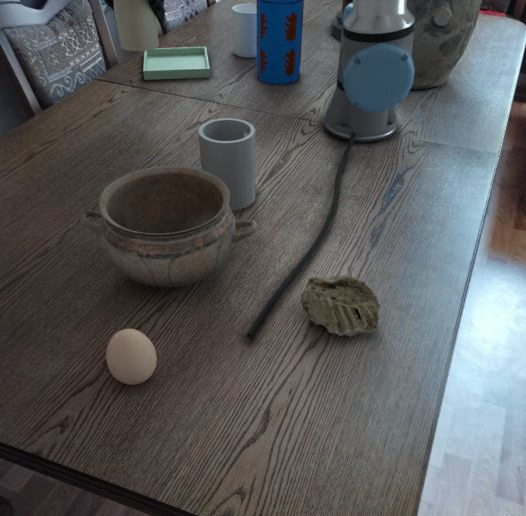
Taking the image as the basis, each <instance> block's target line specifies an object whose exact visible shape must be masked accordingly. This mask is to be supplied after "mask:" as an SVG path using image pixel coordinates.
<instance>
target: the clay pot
mask: <svg viewBox="0 0 526 516" xmlns="http://www.w3.org/2000/svg"><path fill="white" fill-rule="evenodd" d="M482 3H483V0H407V4H406V6H407V9H408V10H409V11H410V12H411V13H412V14H413V15H414V17H415V23H414V34H413V46H412V60H413V62H414V68H415V73H414V79H413V84H412V87H411V89H410V90H424V89H425V90H426V89H431V88H437V87H439V86H442V85H444V84H445V83H446V82H447V80H448V78H449V76H450V74H451V73H452V71H453V70H454V68H455V67H456V66H457V64H458V63H459V61H460V60H461V58H462V57H463V55H464V54H465V51H466V49H467V47H468V45H469V43H470V40H471V38H472V35H473V33H474V31H475V28H476V26H477V22H478V19H479V15H480V11H481V5H482Z"/></svg>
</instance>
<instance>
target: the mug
mask: <svg viewBox="0 0 526 516" xmlns="http://www.w3.org/2000/svg"><path fill="white" fill-rule="evenodd" d="M231 13H232V14H231V16H232V19H231V20H232V47H233V49H232V50H233V53H234V55H236V57H239V58H245V59H254V58H257V3H240V4H236V5H233V7H232V8H231Z"/></svg>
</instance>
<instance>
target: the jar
mask: <svg viewBox="0 0 526 516" xmlns="http://www.w3.org/2000/svg"><path fill="white" fill-rule="evenodd" d="M113 5H114V11H115V12H114V11H113V12H114V18H115V24H116V29H117V35H118V42H119V47H120V48H121V49H122V50H125V51H129V52H144V51H148V50H152V49H155V48H159V46H160V39H159V29H158V23H157V21H158V20H157V17H156V16H155V14H154V12H153V10H152V9H151V7H150V5H149V0H113Z"/></svg>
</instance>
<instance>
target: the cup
mask: <svg viewBox="0 0 526 516" xmlns="http://www.w3.org/2000/svg"><path fill="white" fill-rule="evenodd" d="M197 130H198V131H197V132H198V142H199V143H198V144H199V156H200V168H201V169H200V170H202V171H206V172H208V173H210V174H212V175H214V176H216V177H217V178H219V179H220V180H221V181H222V182H224V183H225V185H226V186H227V188H228V190H229V194H230V200H229V206H230V208H231V210H232V212H234V211H239V210H242V209H243V210H244V209H245V208H248V207H249V206H251V205H252V204H253V203H254V202H255V200H256V128H255V126H254V124H251V123H250V122H249V121H246V120H243V119H239V118H232V117H225V118H224V117H223V118H215V119H211V120H209V121H205V122H204V123H203V124H202V125H200V126H199V128H198V129H197ZM246 134H247V135H246Z"/></svg>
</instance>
